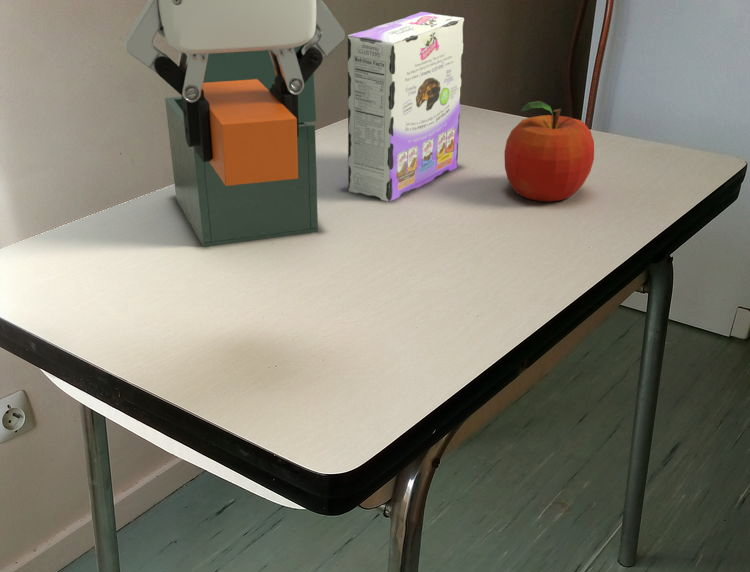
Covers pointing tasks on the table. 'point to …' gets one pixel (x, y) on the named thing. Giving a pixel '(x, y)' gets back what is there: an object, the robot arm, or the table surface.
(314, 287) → the table surface
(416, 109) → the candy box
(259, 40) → the robot arm
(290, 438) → the table surface
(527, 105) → the fruit
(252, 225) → the bin
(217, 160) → the block
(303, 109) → the bin lid
